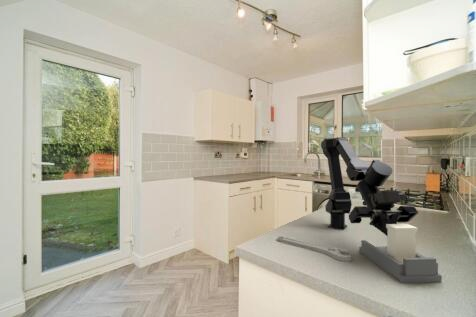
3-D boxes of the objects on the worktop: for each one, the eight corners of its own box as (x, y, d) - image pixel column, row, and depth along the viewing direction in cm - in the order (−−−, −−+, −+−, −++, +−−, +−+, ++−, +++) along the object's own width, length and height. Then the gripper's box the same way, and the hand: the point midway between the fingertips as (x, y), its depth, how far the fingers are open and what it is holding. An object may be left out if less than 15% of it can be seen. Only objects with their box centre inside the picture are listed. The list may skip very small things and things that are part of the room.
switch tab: (384, 258, 65) (384, 223, 65) (404, 258, 65) (404, 223, 65) (397, 267, 60) (397, 229, 60) (419, 266, 60) (419, 228, 60)
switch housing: (359, 251, 74) (359, 234, 73) (389, 250, 74) (389, 233, 74) (402, 282, 56) (402, 260, 55) (441, 281, 56) (441, 259, 56)
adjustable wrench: (275, 241, 83) (275, 237, 83) (285, 237, 88) (285, 232, 88) (347, 264, 66) (347, 257, 66) (354, 257, 71) (354, 251, 71)
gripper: (353, 180, 69) (377, 227, 58) (413, 179, 70) (448, 226, 59) (340, 201, 77) (359, 246, 66) (394, 200, 78) (421, 245, 67)
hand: (396, 241), depth 64 cm, fingers closed, pressing on switch tab
